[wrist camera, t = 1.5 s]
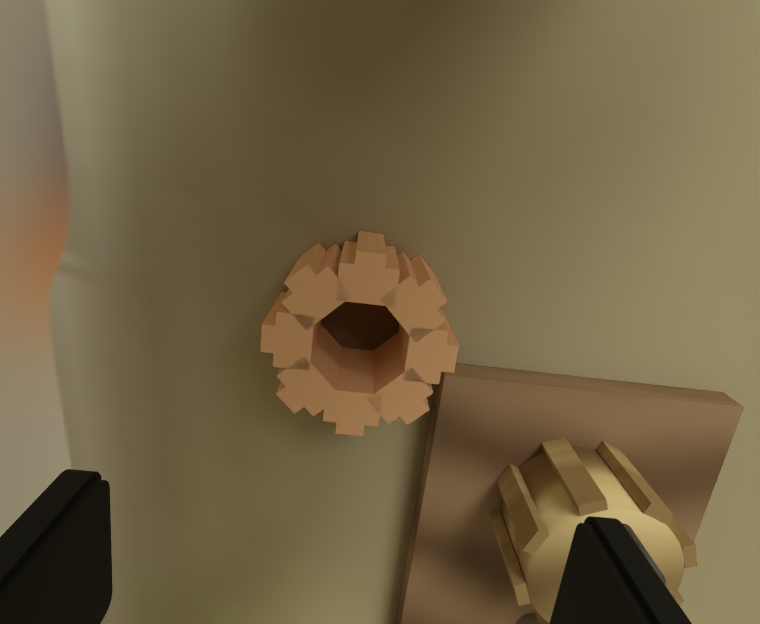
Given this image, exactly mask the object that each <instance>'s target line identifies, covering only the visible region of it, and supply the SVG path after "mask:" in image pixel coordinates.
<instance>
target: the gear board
mask: <svg viewBox="0 0 760 624" xmlns="http://www.w3.org/2000/svg"><path fill="white" fill-rule="evenodd" d="M743 408H744V407H743V406H742V405H740V404H739V403H737V402H736V401H734V400H733V399H732V398H730V397H729V396H727V395H726V394H725V393H723V392H714V391H705V390H696V389H687V388H677V387H668V386H659V385H650V384H641V383H631V382H622V381H613V380H604V379H595V378H585V377H576V376H567V375H558V374H548V373H539V372H530V371H521V370H512V369H502V368H493V367H484V366H475V365H466V364H456V365H455V371H454V373H451V372H442V371H441V376H440V382H439V384H437V386H436V392H435V397H434V403H433V409H432V415H431V421H430V426H429V432H428V438H427V444H426V449H425V455H424V461H423V467H422V472H421V478H420V484H419V490H418V496H417V501H416V507H415V513H414V519H413V524H412V530H411V536H410V542H409V547H408V553H407V559H406V565H405V571H404V576H403V582H402V588H401V594H400V599H399V605H398V611H397V617H396V622H395V624H549V623H550V620H551V616H552V612H553V609H554V605H555V601H556V598H557V594H558V590H559V587H560V583H561V580H562V576H563V572H564V569H565V565H566V561H567V558H568V554H569V551H570V547H571V543H572V540H573V536H574V532H575V529H576V526H577V525H578V524H579V523H584V521H585V519H586V518H587V517H589V516H593V517H604V518H615V519H618V520H619V521H620V522H621V523H622V524H623V525H624V527H625V528H626V530H627V531H628V533H629V534H630V536H631V537H632V538H633V540H634V541H635V543H636V544H637V546H638V547H639V548H640V550H641V551H642V553H643V554H644V556H645V557H646V559H647V560H648V561H649V563H650V564H651V566H652V567H653V569H654V570H655V572H656V573H657V574H658V576H659V577H660V579H661V580H662V582H663V583H664V585H665V586H666V587H667V589H668V590H669V592H670V593H671V595H672V596H673V598H674V599H675V600H676V602H677V603H678V605H680V604H681V603H682V602H683V601H684V600H683V598H682V597H681V595H680V594H679V592H678V591H677V589H678V587H679V585H680V583H681V580H682V576H683V571H684V568H689V567H694V566H697V557H696V547H695V544H694V539H695V537H696V534H697V531H698V528H699V526H700V523H701V520H702V518H703V515H704V512H705V510H706V507H707V504H708V502H709V499H710V496H711V494H712V491H713V488H714V486H715V483H716V480H717V478H718V475H719V472H720V470H721V467H722V464H723V462H724V459H725V456H726V454H727V451H728V448H729V446H730V443H731V440H732V438H733V435H734V432H735V430H736V427H737V424H738V422H739V419H740V416H741V414H742V411H743Z"/></svg>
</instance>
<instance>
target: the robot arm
mask: <svg viewBox="0 0 760 624" xmlns="http://www.w3.org/2000/svg"><path fill="white" fill-rule="evenodd" d="M111 597H112V559H111V522H110V487H109V483H108V481H106V480H101V475H100V473H98V472H93V471H82V470H71V469H68V470H65V471H64V472H62V473H61V474H60V475H59V476H58V477H57V478H56V479H55V480H54V482H52V484H51V485H50V486H49V487H48V488H47V489H46V490H45V491H44V492H43V493H42V494H41V495H40V496H39V497H38V498H37V499H36V500H35V501H34V502H33V503H32V505H31V506H30V507H29V508H28V509H27V510H26V511H25V512H24V513H23V514H22V515H21V516H20V517H19V518H18V519H17V520H16V521H15V522H14V524H13V525H11V526H10V528H9V529H8V530H7V531H6V532H5V533H4V534H3V535H2V536H1V537H0V624H100V623H101V621H102V620H103V618H104V616H105V614H106V612H107V610H108V608H109V605H110V601H111ZM549 624H692V623H691V622H690V621H689V619H688V618H687V616H686V615H685V613H684V612H683V610H682V609H681V608H680V606H679V605H678V603H677V602H676V600H675V599H674V598H673V596H672V595H671V593H670V592H669V590H668V589H667V587H666V586H665V585H664V583H663V582H662V580H661V579H660V577H659V576H658V574H657V573H656V572H655V570H654V569H653V567H652V566H651V564H650V563H649V561H648V560H647V559H646V557H645V556H644V554H643V553H642V551H641V550H640V548H639V547H638V546H637V544H636V543H635V541H634V540H633V538H632V537H631V536H630V534H629V533H628V531H627V530H626V528H625V527H624V525H623V524H622V523H621V522H620V521H619V520H618V519H615V518H604V517H593V516H589V517H587V518H586V519H585V521H584V523H579V524H578V525H577V526H576V529H575V532H574V536H573V540H572V543H571V547H570V551H569V554H568V558H567V561H566V565H565V569H564V572H563V576H562V580H561V583H560V587H559V590H558V594H557V598H556V601H555V605H554V609H553V612H552V616H551V620H550V623H549Z"/></svg>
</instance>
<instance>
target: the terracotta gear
mask: <svg viewBox="0 0 760 624" xmlns="http://www.w3.org/2000/svg"><path fill="white" fill-rule="evenodd" d="M284 284H285V285H286V286H287V287H288V288H289V290H288V291H287V292H281V293H280V295H279V296H278V298H277V300H276V301H275V303H274V305H273V307H272V308H271V310H270V312H269V313H268V315H267V317H266V318H265V320H264V322H263V323H262V330H261V346H260V352H265V353H274V354H273V367H280V368H279V371H278V373H277V376H276V377H277V378H278V379H279V380H280V381H281V382H280V384H279V387H278V390H277V392H276V395H277V396H278V397H279V398H280V399H281V400H282V401H283V402H284V403H285V404H286V405H287V406H288V407H289V409H290V410H291V411H292V412H293V413H294V414H295V413H296V412H298V411H299V410H301V409H302V408H303V407H305V408H306V409H307V410H308V411H309V412H310V413H311V415H312V416H313V417H314V416H315V415H316V414H318V413H319V412H321V411H322V410H323V409H324V415H323V421H326V422H336V423H337V425H336V434H343V435H353V436H363V433H364V426H375V427H378V426H379V418H380V415H381V416H382V417H383V419H384V420H385V421H386V422H387V423H388V424H390V423H391V422H392V421H394V420H395V419H397V418H398V417H400V418H401V419H402V420H403V421H404V422H405V423H406V425H408V424H410V423H411V422H413V421H414V420H416V419H417V418H419V417H420V416H421V415H423V414H424V413H426V412H427V411H429V410H430V409H429V405H428V401H427V397H428V396H430V395H431V394H433V389H432V386H431V384H439V382H440V376H441V371H442V372H451V373H454V371H455V365H456V360H457V354H458V349H459V345H458V343H457V341H456V338H455V336H454V334H453V332H452V329H451V327H450V325H449V322H448V320H447V318H446V316H445V313H444V311H443V310H441V309H440V307H442V306H443V305H444V304H446V303H447V302H448V301H447V299H446V297H445V295H444V293H443V291H442V288H441V286H440V284H439V282H438V280H437V278H436V276H435V274H434V273H433V271H432V270H431V269H430V267H429V266H428V265H427V263H426V262H425V261H424V260H423V258H422V257H421V256H420V254H418V255H417V256H416V257H415V258H413V259H412V260H411V261H410V260H409V259H408V257H407V256H406V255H405V253H404V252H403V251H402V252H401V253H400V254H398V255H396V250H395V247H394V246H385V239H384V234H381V233H372V232H364V231H359V232H358V240H357V242H352V241H345V242H344V246H343V250H341V249H340V248H339V247H338V245H337V244H336V243H335V244H334V245H333V246H331V247H330V248H329V249H328V250H325V249H324V248H323V246H322V245H321V244H320V243H319V242H318V243H317V244H316V245H314V246H313V247H312V248H310V249H309V250H308V251H307V252H305V253H304V254H303V255H302V256H300V257H299V259H298V261H297V262H296V264H295V266H294V267H293V269H292V270H291V272H290V274H289V275H288V277H287V278H286V280H285V282H284ZM345 301H347V302H355V303H364V304H373V305H382V306H386V307H387V308H388V310H389V311H390V312H391V313H392V314H393V316H394V317H395V318H396V319H397V321H398V322H399V330H398V333H396V334H395V335H393V336H392V337H391V338H389V339H388V340H387V341H385V342H384V343H382V344H381V345H380V346H378V347H377V348H376V349H374V350H364V349H355V348H346V347H341V346H340V345H339V344H338V343H337V341H336V340H335V339H334V338H333V337H332V336H331V335H330V333H329V332H328V331H327V330H326V329H325V328H324V326H323V325H322V324H321V319H322V318H324V317H325V316H326V315H328V314H329V313H330V312H332V311H333V310H334V309H336V308H337V307H338V306H340V305H341V304H342V303H343V302H345Z"/></svg>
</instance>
